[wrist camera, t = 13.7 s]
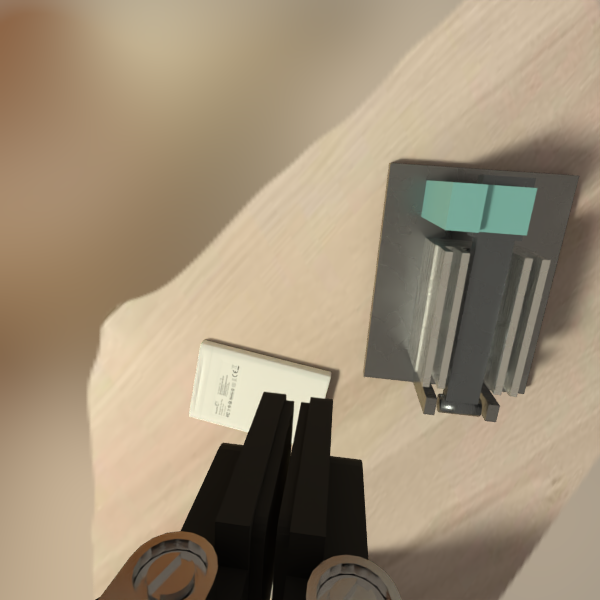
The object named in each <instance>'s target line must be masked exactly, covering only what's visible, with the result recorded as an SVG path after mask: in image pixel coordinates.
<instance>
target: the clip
mask: <svg viewBox="0 0 600 600" xmlns="http://www.w3.org/2000/svg"><path fill="white" fill-rule="evenodd" d="M536 192H537V188H528V187H514V186H500V185H486V184H472V183H458V182H444V181H429V180H427V182H426V188H425V195H424V202H423V208H422V215H421V217H422V218H424V219H426V220H428V221H430V222H432V223H433V224H435V225H437V226H439V227H441V228H442V229H444V230H451V231H463V232H475V233H479V232H489V233H501V234H514V235H526V236H527V232H528V227H529V223H530V219H531V214H532V210H533V205H534V201H535V197H536Z"/></svg>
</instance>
